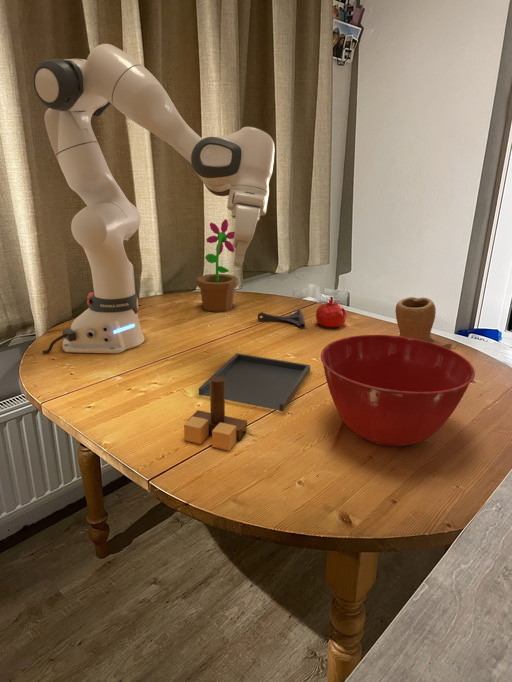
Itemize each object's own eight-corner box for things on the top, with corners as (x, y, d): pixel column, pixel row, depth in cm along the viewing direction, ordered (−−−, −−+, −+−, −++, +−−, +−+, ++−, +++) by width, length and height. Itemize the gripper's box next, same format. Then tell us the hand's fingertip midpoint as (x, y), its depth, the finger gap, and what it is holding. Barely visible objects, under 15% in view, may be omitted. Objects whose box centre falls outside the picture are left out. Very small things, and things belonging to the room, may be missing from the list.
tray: (236, 361, 132) (236, 353, 131) (309, 373, 126) (310, 365, 125) (198, 397, 113) (198, 388, 112) (282, 414, 106) (283, 404, 106)
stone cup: (382, 349, 141) (388, 298, 135) (401, 338, 149) (407, 290, 144) (434, 364, 132) (443, 310, 126) (451, 351, 140) (460, 300, 134)
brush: (188, 430, 100) (186, 378, 96) (198, 420, 103) (196, 370, 99) (239, 441, 96) (239, 388, 92) (247, 431, 100) (247, 379, 96)
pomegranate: (321, 331, 154) (322, 302, 151) (310, 321, 163) (311, 293, 160) (350, 329, 156) (353, 300, 153) (338, 319, 165) (340, 291, 162)
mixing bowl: (335, 386, 119) (340, 325, 113) (463, 410, 109) (475, 344, 103) (298, 448, 95) (302, 374, 89) (459, 486, 84) (474, 405, 79)
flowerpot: (244, 304, 179) (245, 219, 168) (226, 315, 167) (225, 224, 156) (209, 299, 184) (208, 216, 173) (189, 310, 172) (186, 221, 161)
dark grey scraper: (257, 313, 169) (257, 305, 168) (301, 314, 169) (301, 306, 168) (257, 328, 156) (257, 320, 155) (305, 329, 156) (305, 320, 155)
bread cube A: (220, 437, 98) (219, 422, 96) (236, 441, 96) (236, 425, 95) (212, 446, 95) (211, 430, 93) (229, 450, 93) (228, 434, 92)
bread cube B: (193, 431, 100) (192, 416, 98) (208, 435, 98) (208, 419, 97) (184, 440, 97) (183, 424, 95) (200, 444, 95) (200, 428, 94)
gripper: (232, 209, 122) (224, 265, 123) (235, 191, 102) (224, 259, 103) (258, 214, 123) (249, 270, 124) (265, 197, 102) (255, 264, 103)
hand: (238, 265), depth 113 cm, fingers open, 8 cm apart
